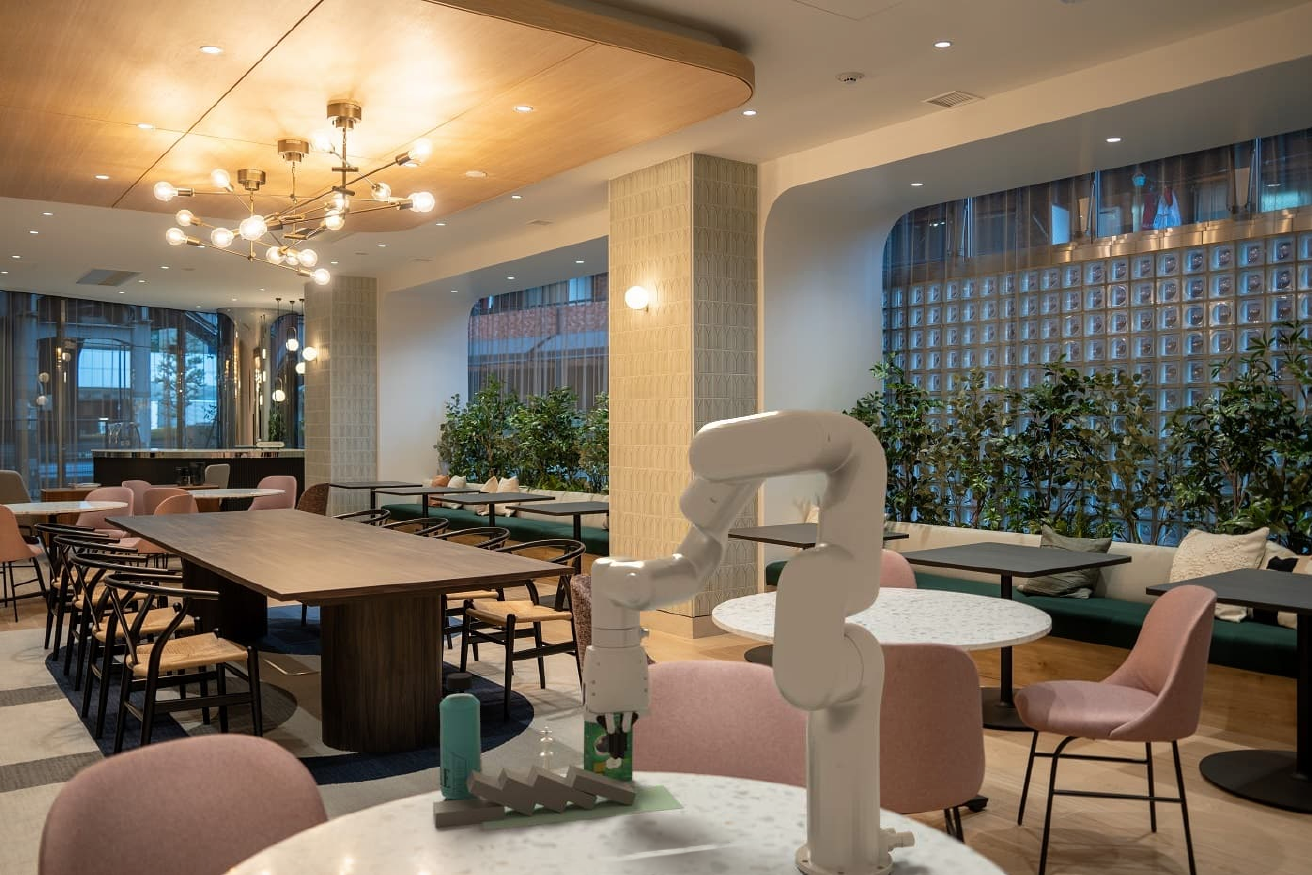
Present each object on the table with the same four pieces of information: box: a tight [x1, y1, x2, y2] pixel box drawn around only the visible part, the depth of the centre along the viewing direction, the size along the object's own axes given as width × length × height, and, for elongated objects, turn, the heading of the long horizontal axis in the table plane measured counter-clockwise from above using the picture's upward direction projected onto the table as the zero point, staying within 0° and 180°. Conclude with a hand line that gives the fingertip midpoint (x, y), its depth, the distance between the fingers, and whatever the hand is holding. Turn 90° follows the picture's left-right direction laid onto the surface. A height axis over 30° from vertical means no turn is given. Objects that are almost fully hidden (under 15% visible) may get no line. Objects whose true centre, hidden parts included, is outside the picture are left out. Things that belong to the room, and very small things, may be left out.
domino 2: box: [466, 770, 536, 816], centre depth 155 cm, size 2×5×10 cm
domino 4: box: [527, 764, 597, 810], centre depth 157 cm, size 2×5×10 cm
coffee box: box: [583, 713, 634, 783], centre depth 170 cm, size 8×3×13 cm, turn 119°
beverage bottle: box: [438, 672, 483, 800], centre depth 162 cm, size 6×7×20 cm
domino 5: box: [564, 764, 636, 806], centre depth 159 cm, size 2×5×10 cm
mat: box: [481, 784, 684, 831], centre depth 158 cm, size 30×11×1 cm, turn 106°
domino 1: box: [432, 797, 505, 828], centre depth 153 cm, size 2×5×10 cm
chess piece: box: [539, 726, 554, 772], centre depth 168 cm, size 5×5×10 cm
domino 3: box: [497, 767, 568, 814], centre depth 156 cm, size 2×5×10 cm
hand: (617, 756), depth 160 cm, fingers closed
